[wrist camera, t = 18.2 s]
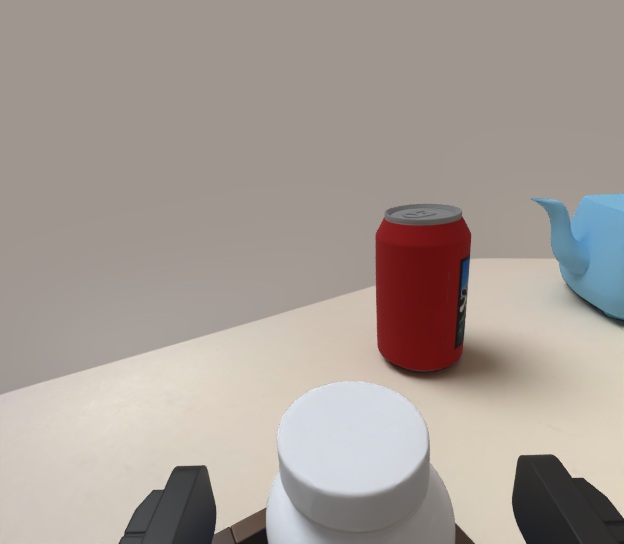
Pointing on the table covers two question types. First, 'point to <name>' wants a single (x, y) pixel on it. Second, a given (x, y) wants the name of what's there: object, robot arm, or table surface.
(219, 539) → the wooden compartment box
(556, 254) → the teapot
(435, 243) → the beverage can
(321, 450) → the pill bottle
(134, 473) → the table surface
